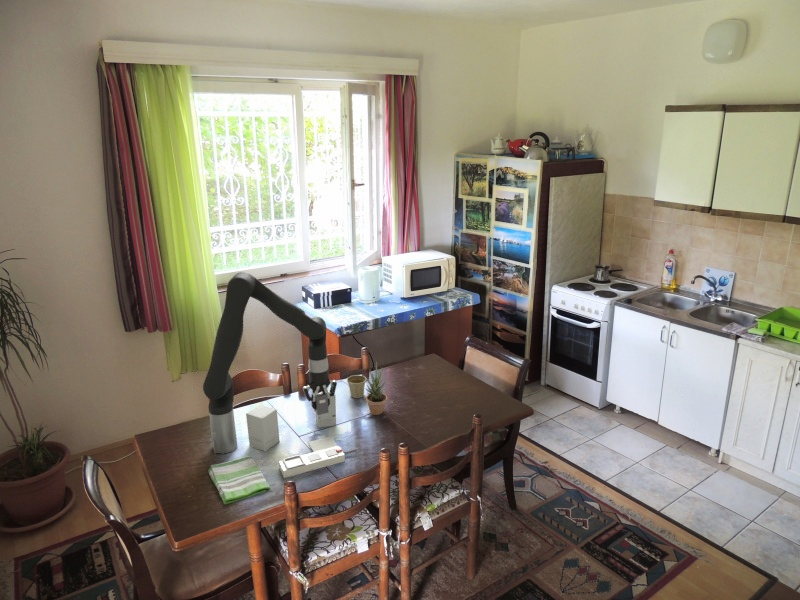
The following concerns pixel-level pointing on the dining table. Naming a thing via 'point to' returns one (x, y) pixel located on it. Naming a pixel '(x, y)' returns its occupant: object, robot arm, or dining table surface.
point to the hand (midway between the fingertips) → (321, 407)
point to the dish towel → (238, 479)
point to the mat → (322, 444)
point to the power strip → (312, 461)
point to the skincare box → (328, 415)
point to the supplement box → (262, 427)
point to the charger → (321, 403)
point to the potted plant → (376, 395)
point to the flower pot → (356, 385)
